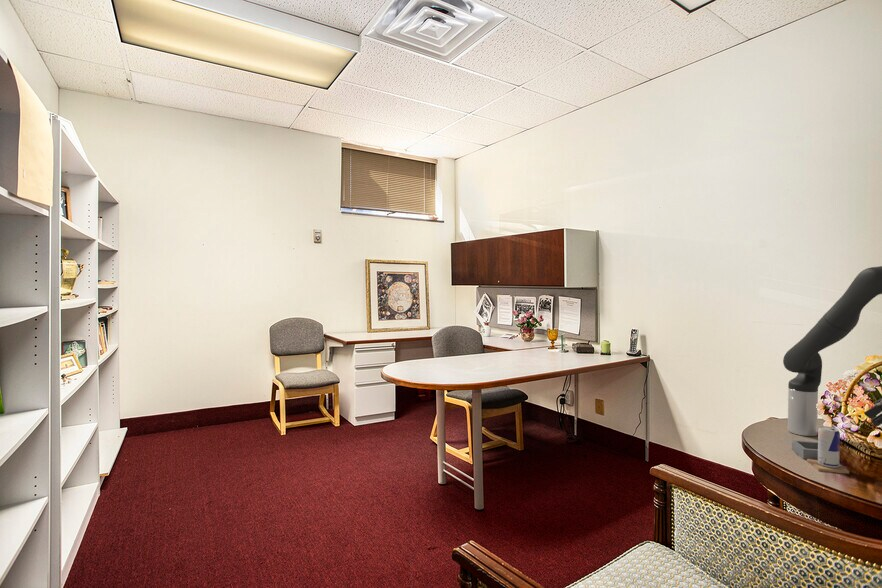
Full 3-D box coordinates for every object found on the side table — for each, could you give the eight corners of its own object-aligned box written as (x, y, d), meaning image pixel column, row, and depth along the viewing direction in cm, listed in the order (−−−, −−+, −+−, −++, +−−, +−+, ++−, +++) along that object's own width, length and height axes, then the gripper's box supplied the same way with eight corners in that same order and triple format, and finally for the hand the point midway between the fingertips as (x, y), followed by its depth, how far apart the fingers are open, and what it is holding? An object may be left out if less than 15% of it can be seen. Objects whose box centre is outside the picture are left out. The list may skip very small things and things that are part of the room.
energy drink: (843, 468, 148) (844, 431, 147) (825, 468, 148) (826, 431, 148) (830, 461, 153) (831, 426, 153) (813, 461, 153) (814, 425, 153)
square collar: (791, 449, 166) (791, 440, 166) (821, 452, 163) (821, 442, 163) (803, 459, 157) (803, 449, 157) (835, 462, 155) (835, 451, 155)
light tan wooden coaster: (807, 461, 156) (807, 458, 156) (835, 463, 154) (835, 461, 154) (818, 470, 148) (818, 468, 148) (849, 473, 146) (849, 471, 146)
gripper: (902, 373, 146) (853, 404, 152) (918, 382, 133) (864, 416, 140) (925, 392, 143) (875, 423, 149) (943, 403, 131) (887, 436, 137)
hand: (870, 419), depth 145 cm, fingers open, 8 cm apart
